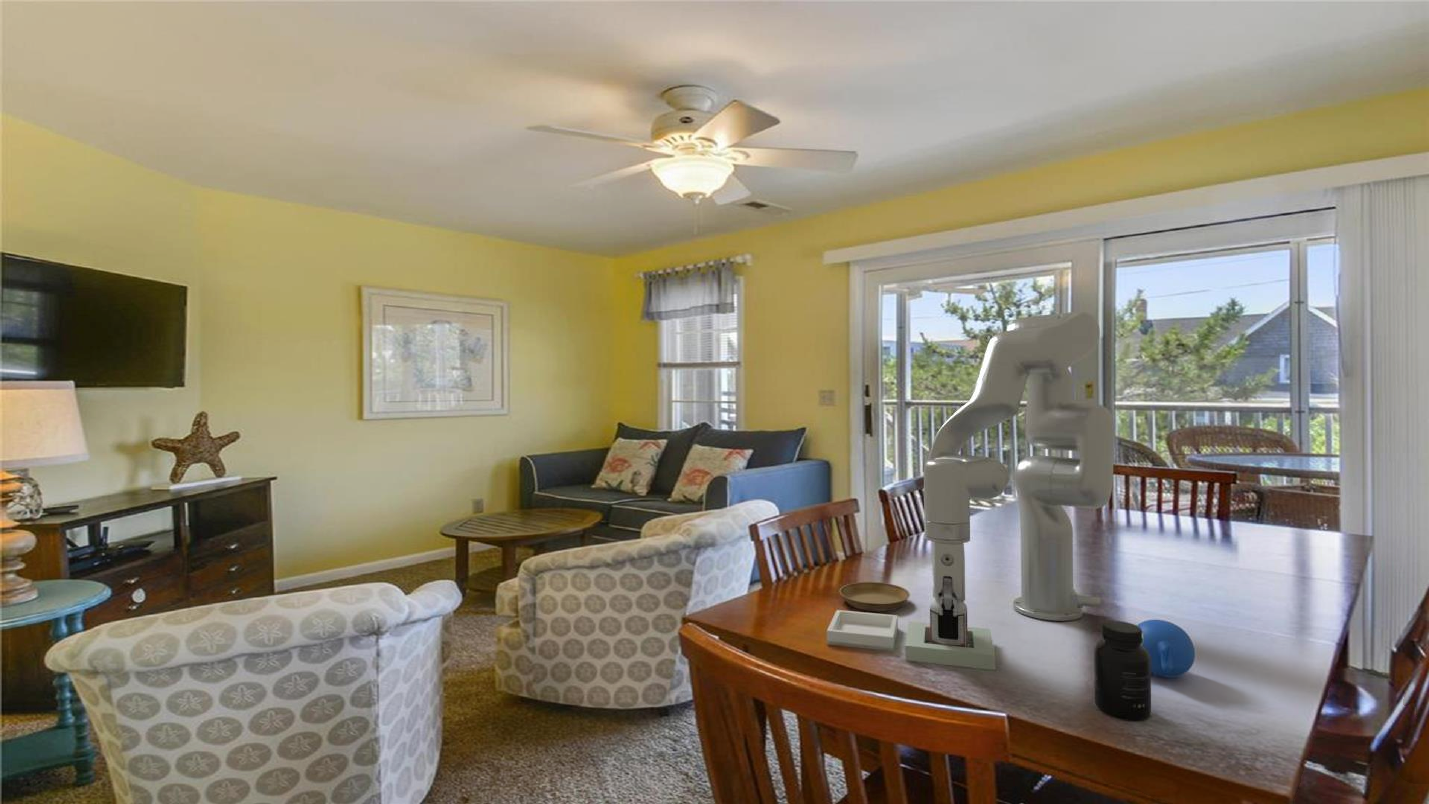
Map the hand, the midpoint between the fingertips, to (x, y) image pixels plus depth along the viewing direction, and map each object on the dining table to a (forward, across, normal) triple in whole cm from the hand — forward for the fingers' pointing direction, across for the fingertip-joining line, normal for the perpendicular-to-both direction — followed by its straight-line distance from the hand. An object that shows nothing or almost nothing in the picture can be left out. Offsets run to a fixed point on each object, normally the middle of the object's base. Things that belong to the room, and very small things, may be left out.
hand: (948, 628), depth 114 cm
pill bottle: (+4, 0, 0) cm, 4 cm away
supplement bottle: (+4, -15, -23) cm, 28 cm away
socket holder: (+4, 0, 0) cm, 4 cm away
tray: (+4, +3, +15) cm, 16 cm away
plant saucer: (+4, +23, +15) cm, 28 cm away
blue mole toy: (+4, 0, -30) cm, 30 cm away
